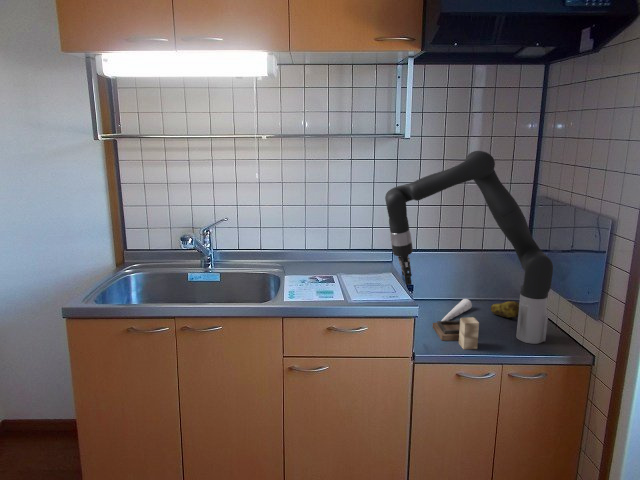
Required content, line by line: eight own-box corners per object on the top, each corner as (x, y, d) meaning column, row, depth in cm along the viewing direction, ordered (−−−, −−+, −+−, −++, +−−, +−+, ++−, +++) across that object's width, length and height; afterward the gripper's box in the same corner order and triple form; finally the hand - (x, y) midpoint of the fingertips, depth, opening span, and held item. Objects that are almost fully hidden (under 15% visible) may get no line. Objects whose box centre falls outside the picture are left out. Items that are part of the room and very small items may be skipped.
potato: (504, 311, 208) (505, 293, 207) (525, 322, 197) (527, 303, 195) (487, 313, 206) (489, 295, 204) (508, 325, 194) (509, 306, 192)
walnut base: (462, 326, 193) (462, 318, 192) (473, 339, 181) (474, 331, 181) (432, 327, 192) (432, 319, 192) (441, 340, 181) (442, 332, 180)
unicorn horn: (431, 322, 198) (431, 311, 196) (462, 307, 213) (462, 297, 212) (441, 326, 194) (441, 314, 193) (472, 310, 210) (472, 299, 209)
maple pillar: (472, 342, 179) (473, 317, 177) (477, 348, 174) (479, 322, 172) (458, 343, 179) (460, 317, 176) (463, 349, 174) (465, 323, 171)
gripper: (414, 246, 176) (420, 286, 181) (408, 233, 189) (413, 270, 195) (394, 250, 176) (400, 289, 182) (389, 236, 190) (394, 273, 195)
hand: (406, 279), depth 188 cm, fingers open, 8 cm apart
